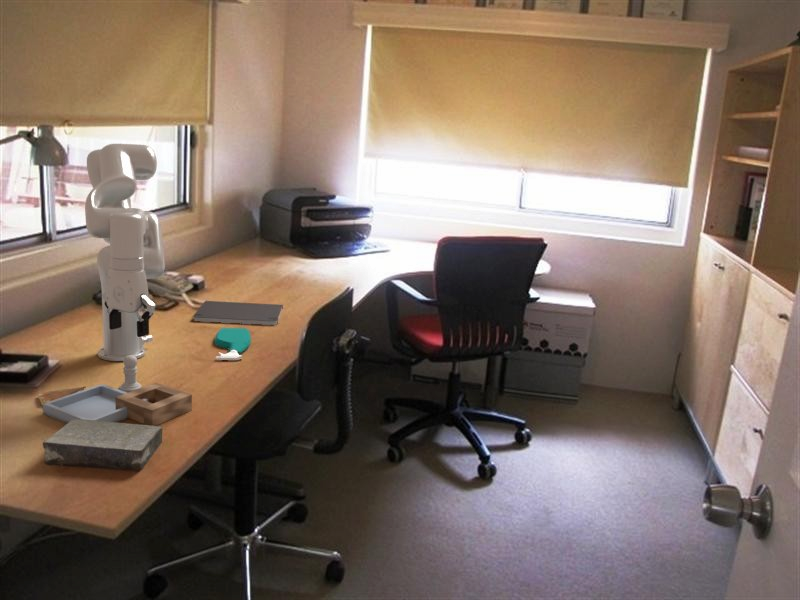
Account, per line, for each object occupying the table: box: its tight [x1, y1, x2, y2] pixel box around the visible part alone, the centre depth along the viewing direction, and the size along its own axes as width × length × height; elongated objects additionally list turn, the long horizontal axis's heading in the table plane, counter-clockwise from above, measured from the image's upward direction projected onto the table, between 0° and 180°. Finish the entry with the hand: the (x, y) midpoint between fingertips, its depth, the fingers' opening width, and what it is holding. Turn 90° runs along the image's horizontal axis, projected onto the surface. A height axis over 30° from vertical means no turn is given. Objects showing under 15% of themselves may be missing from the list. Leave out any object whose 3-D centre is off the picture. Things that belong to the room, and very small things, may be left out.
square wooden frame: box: [115, 382, 193, 426], centre depth 168 cm, size 12×12×4 cm
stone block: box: [42, 419, 163, 472], centre depth 147 cm, size 14×20×5 cm
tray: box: [42, 383, 148, 424], centre depth 166 cm, size 16×16×2 cm
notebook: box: [192, 300, 284, 326], centre depth 251 cm, size 22×2×28 cm
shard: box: [37, 386, 87, 407], centre depth 172 cm, size 11×8×2 cm
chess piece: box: [118, 355, 143, 393], centre depth 179 cm, size 5×5×9 cm
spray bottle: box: [214, 327, 252, 361], centre depth 216 cm, size 3×11×24 cm
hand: (129, 332), depth 176 cm, fingers open, 9 cm apart
